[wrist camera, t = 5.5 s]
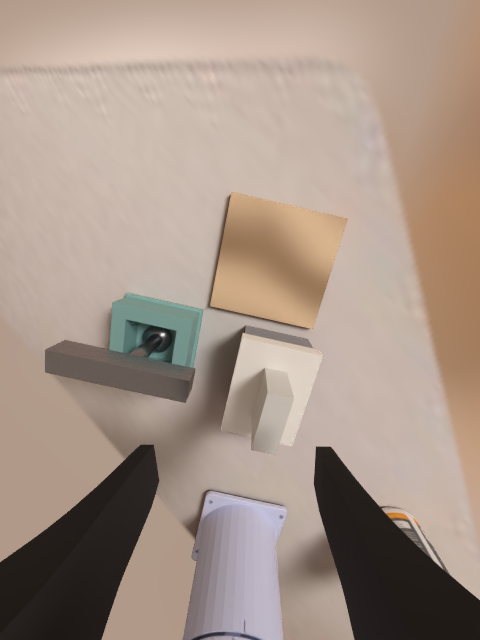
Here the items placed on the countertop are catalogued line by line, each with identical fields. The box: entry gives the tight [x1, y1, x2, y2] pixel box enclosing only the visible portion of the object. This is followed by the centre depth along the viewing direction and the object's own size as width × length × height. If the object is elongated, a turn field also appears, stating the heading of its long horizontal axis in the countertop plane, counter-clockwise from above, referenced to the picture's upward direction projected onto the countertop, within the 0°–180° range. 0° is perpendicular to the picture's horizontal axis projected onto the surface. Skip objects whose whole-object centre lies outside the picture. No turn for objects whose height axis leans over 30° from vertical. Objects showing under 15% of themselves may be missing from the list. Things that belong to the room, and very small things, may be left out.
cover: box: [220, 333, 323, 455], centre depth 16 cm, size 7×5×4 cm
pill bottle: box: [381, 507, 450, 575], centre depth 20 cm, size 6×6×10 cm
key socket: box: [109, 293, 203, 368], centre depth 19 cm, size 6×6×2 cm
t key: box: [45, 325, 195, 403], centre depth 17 cm, size 8×2×6 cm, turn 78°
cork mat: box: [210, 192, 348, 329], centre depth 18 cm, size 8×8×1 cm
